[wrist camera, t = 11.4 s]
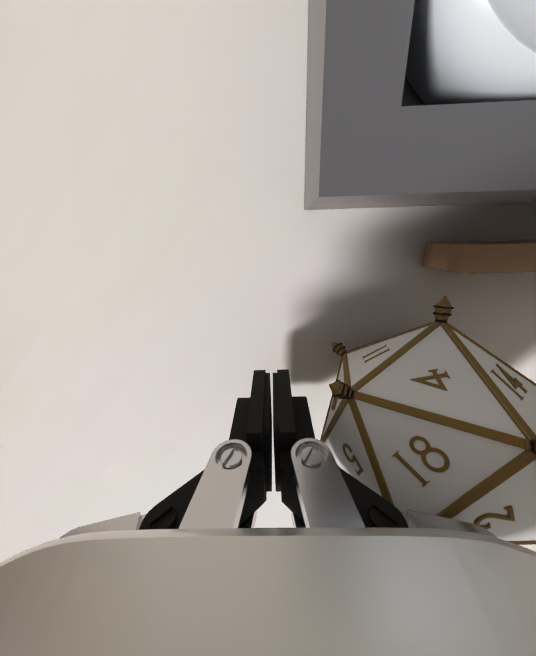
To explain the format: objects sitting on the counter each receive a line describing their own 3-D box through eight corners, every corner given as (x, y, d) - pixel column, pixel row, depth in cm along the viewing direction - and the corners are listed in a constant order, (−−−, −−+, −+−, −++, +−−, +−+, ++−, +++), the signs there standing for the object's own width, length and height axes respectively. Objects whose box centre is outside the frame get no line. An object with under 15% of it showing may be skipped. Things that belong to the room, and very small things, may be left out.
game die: (343, 313, 16) (487, 191, 6) (459, 395, 15) (828, 401, 5) (259, 433, 14) (279, 530, 4) (388, 537, 13) (787, 958, 3)
